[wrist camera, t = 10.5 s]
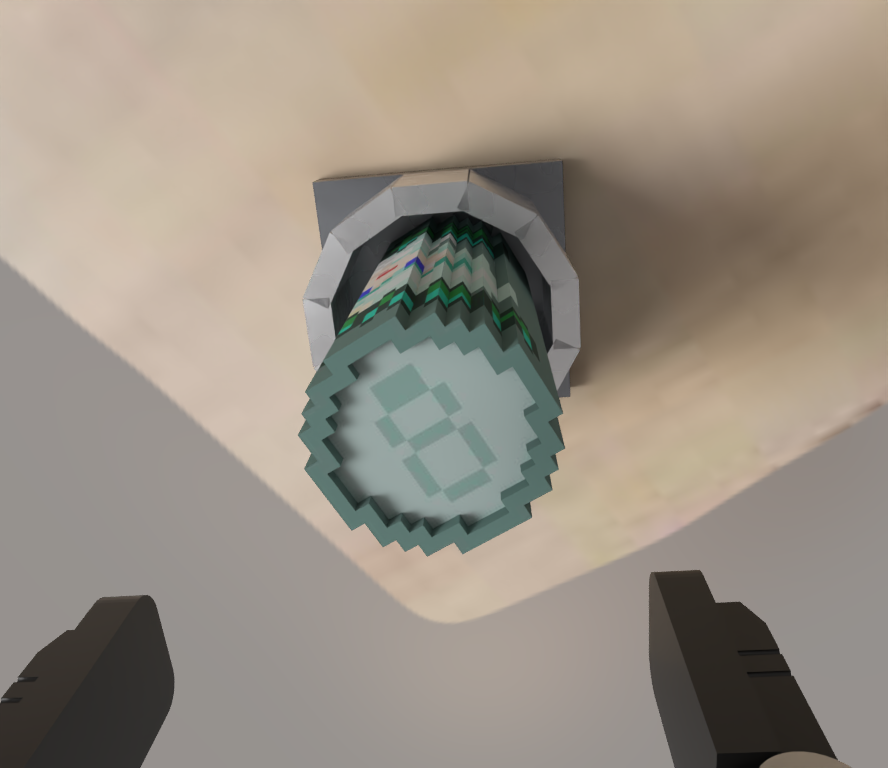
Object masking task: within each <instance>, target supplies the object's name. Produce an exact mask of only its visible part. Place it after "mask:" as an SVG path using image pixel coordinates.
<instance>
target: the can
mask: <svg viewBox="0 0 888 768" xmlns="http://www.w3.org/2000/svg"><path fill="white" fill-rule="evenodd" d="M305 393H306V394H307V395H308V397H309V398H310V399H309V401H308V403H307V405H306V406H305V408H304V410H303V412H302V415H303V417H304V418H305V419H306V421H305V423H304V425H303V426H302V428H301V430H300V432H299V434H298V436H299V437H300V439H301V440H302V441H303V443H304V444H305V445H306V447H307V448H308V449H309V451H310V452H311V455H310V458H309V460H308V462H307V464H306V466H305V468H304V469H305V471H306V472H307V473H308V475H309V476H310V477H311V478H312V480H313V481H314V482H315V484H316V485H317V486H318V488H319V489H320V490H321V491H322V493H323V494H324V495H325V497H326V498H327V499H328V501H329V502H330V503H331V504H332V506H333V507H334V508H335V510H336V511H337V512H338V514H339V515H340V516H341V517H342V519H343V520H344V521H345V523H346V524H347V525H348V527H349V528H350V529H351V530H354V529H356V528H357V527H359V526H361V525H363V524H366V526H367V527H368V528H369V530H370V531H371V532H372V533H373V535H374V536H375V537H376V539H377V540H378V541H379V543H380V544H381V545H382V547H384V546H386V545H388V544H390V543H392V542H394V541H395V540H397V542H398V543H399V544H400V546H401V547H402V548H403V550H404V551H405V552H406V551H408V550H410V549H411V548H413V547H415V546H417V545H419V546H420V548H421V549H422V550H423V552H424V553H425V554H426V556H429V555H431V554H433V553H435V552H437V551H439V550H440V549H442V548H444V547H446V546H448V545H450V544H452V543H455V544H456V546H457V547H458V548H459V550H460V551H461V552H462V554H464V553H466V552H468V551H470V550H471V549H473V548H475V547H477V546H479V545H481V544H483V543H485V542H487V541H489V540H490V539H492V538H494V537H496V536H498V535H500V534H502V533H504V532H506V531H508V530H509V529H511V528H513V527H515V526H517V525H519V524H521V523H523V522H525V521H527V520H528V519H530V518H532V513H531V505H530V502H531V501H533V500H535V499H536V498H538V497H540V496H542V495H544V494H546V493H548V492H550V491H551V490H552V485H551V480H550V474H551V473H553V472H555V471H557V470H559V469H558V464H557V459H556V455H555V454H556V453H558V452H559V451H561V450H563V449H565V446H564V442H563V438H562V434H561V430H560V426H559V422H558V418H557V417H558V416H559V415H561V414H563V412H562V408H561V404H560V400H559V396H558V393H557V389H556V385H555V381H554V378H553V374H552V370H551V366H550V362H549V359H548V355H547V351H546V347H545V344H544V340H543V336H542V332H541V329H540V325H539V321H538V317H537V313H536V310H535V306H534V302H533V298H532V295H531V291H530V287H529V283H528V279H527V276H526V273H525V271H524V270H523V268H522V266H521V265H520V263H519V262H518V260H517V258H516V257H515V255H514V253H513V252H512V250H511V248H510V247H509V245H508V244H507V242H506V240H505V239H504V237H503V235H502V234H501V232H500V233H499V234H497V235H496V236H494V237H491V235H490V233H489V232H488V230H487V229H486V227H485V225H484V224H483V222H482V221H480V222H479V223H477V224H476V225H474V226H473V225H472V223H471V222H470V220H469V219H468V218H466V219H465V220H463V221H462V222H460V223H459V221H458V220H457V218H456V217H455V215H452V216H451V217H449V218H448V219H446V220H445V221H443V222H442V223H440V224H438V225H437V224H436V222H435V221H434V219H433V218H432V217H431V218H429V219H428V220H426V221H424V222H423V223H421V224H420V225H418V226H417V227H415V228H414V229H412V230H411V231H409V232H407V233H406V234H404V235H403V236H401V237H400V238H398V239H397V240H395V241H394V242H392V243H391V244H390V245H389V247H388V249H387V251H386V252H385V254H384V256H383V258H382V259H381V261H380V263H379V264H378V266H377V268H376V270H375V271H374V273H373V275H372V277H371V278H370V280H369V282H368V284H367V285H366V287H365V289H364V290H363V292H362V294H361V296H360V297H359V299H358V301H357V303H356V304H355V306H354V308H353V309H352V311H351V313H350V315H349V316H348V318H347V320H346V322H345V323H344V325H343V327H342V329H341V330H340V332H339V334H338V335H337V337H336V339H335V341H334V342H333V344H332V346H331V348H330V349H329V351H328V353H327V355H326V356H325V358H324V360H323V362H322V363H321V365H320V367H319V369H318V370H317V372H316V374H315V376H314V377H313V379H312V381H311V383H310V384H309V386H308V388H307V389H306V391H305Z"/></svg>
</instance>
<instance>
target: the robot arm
mask: <svg viewBox="0 0 888 768" xmlns="http://www.w3.org/2000/svg"><path fill="white" fill-rule="evenodd" d="M649 661H650V670H651V678H652V685H653V690H654V694H655V698H656V702H657V706H658V709H659V713H660V717H661V720H662V724H663V727H664V731H665V734H666V738H667V742H668V745H669V748H670V752H671V756H672V759H673V763H674V767H675V768H851V767H850V766H848V765H846V764H844V763H842V762H840V761H838V759H837V758H836V756H835V754H834V752H833V751H832V749H831V747H830V745H829V743H828V741H827V739H826V737H825V735H824V733H823V731H822V730H821V728H820V726H819V724H818V722H817V720H816V718H815V716H814V714H813V713H812V710H811V708H810V707H809V705H808V703H807V701H806V699H805V697H804V695H803V693H802V691H801V690H800V688H799V686H798V684H797V682H796V680H795V678H794V676H791V671H790V669H789V667H788V665H787V663H786V661H785V659H784V657H783V655H782V654H780V652H779V648H778V646H777V644H776V642H775V640H774V638H773V636H772V634H771V632H770V631H769V629H768V627H767V625H766V623H765V622H764V621H762V620H761V619H760V618H759V617H758V616H756V615H755V614H754V613H753V612H752V611H750V610H749V609H748V608H747V607H746V606H744V605H743V604H742V603H741V602H727V603H715V600H714V598H713V596H712V594H711V592H710V589H709V587H708V585H707V583H706V581H705V578H704V576H703V574H702V572H701V571H700V570H691V571H670V572H651V574H650V579H649ZM173 694H174V673H173V668H172V664H171V660H170V656H169V652H168V648H167V645H166V641H165V637H164V633H163V629H162V626H161V622H160V618H159V614H158V611H157V607H156V604H155V602H154V600H153V599H152V598H151V597H150V596H148V595H140V596H120V597H102V598H100V599H99V600H97V601H96V603H95V604H94V605H93V607H92V608H91V609H90V610H89V612H88V613H87V614H86V615H85V617H84V618H83V619H82V621H81V622H80V623H79V625H78V626H77V627H76V629H75V630H67V631H66V632H64V633H63V634H62V635H60V636H59V637H58V638H56V639H55V640H54V641H52V642H51V643H50V644H48V645H47V646H46V647H44V648H43V649H42V650H41V651H39V652H38V653H37V654H36V655H35V657H34V658H33V659H32V660H31V662H30V663H29V664H28V665H27V667H26V668H25V669H24V670H23V672H22V673H21V674H20V675H19V677H18V682H15V683H13V684H12V685H11V687H10V688H9V689H8V690H7V692H6V693H5V694H4V695H3V697H2V698H1V703H0V768H140V767H141V765H142V763H143V761H144V759H145V757H146V755H147V753H148V751H149V749H150V748H151V746H152V744H153V742H154V740H155V738H156V736H157V734H158V732H159V730H160V728H161V726H162V724H163V722H164V720H165V718H166V716H167V714H168V712H169V709H170V707H171V704H172V699H173Z"/></svg>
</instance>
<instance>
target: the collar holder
mask: <svg viewBox="0 0 888 768" xmlns="http://www.w3.org/2000/svg"><path fill="white" fill-rule="evenodd" d="M313 189H314V196H315V203H316V210H317V217H318V224H319V231H320V238H321V245H322V252H321V255H320V257H319V260H318V262H317V265H316V267H315V269H314V272H313V274H312V277H311V279H310V282H309V284H308V286H307V289H306V291H305V294H304V296H303V298H304V299H303V304H304V311H305V317H306V324H307V330H308V337H309V343H310V350H311V356H312V363H313V367H314V369H315V370H316V372H317V370H318V369H319V367H320V365H321V363H322V362H323V360H324V358H325V356H326V355H327V353H328V351H329V349H330V348H331V346H332V344H333V342H334V341H335V339H336V337H337V335H338V334H339V332H340V330H341V329H342V327H343V325H344V323H345V322H346V320H347V318H348V316H349V315H350V313H351V311H352V309H353V308H354V306H355V304H356V303H357V301H358V299H359V297H360V296H361V294H362V292H363V290H364V289H365V287H366V285H367V284H368V282H369V280H370V278H371V277H372V275H373V273H374V271H375V270H376V268H377V266H378V264H379V263H380V261H381V259H382V258H383V256H384V254H385V252H386V251H387V249H388V247H389V245H390V244H391V243H392V242H394V241H395V240H397V239H398V238H400V237H401V236H403V235H404V234H406V233H407V232H409V231H411V230H412V229H414V228H415V227H417V226H418V225H420V224H421V223H423V222H424V221H426V220H428V219H429V218H431V217H432V218H433V219H434V221H435V222H436V224H437V225H438V224H440V223H442V222H443V221H445V220H446V219H448V218H449V217H451V216H452V215H455V217H456V218H457V220H458V221H459V223H460V222H462V221H463V220H465V219H466V218H468V219H469V220H470V222H471V223H472V225H473V226H474V225H476V224H477V223H479V222H480V221H482V222H483V224H484V225H485V227H486V229H487V230H488V232H489V233H490V235H491V237H494V236H496V235H497V234H499V233H500V232H501V234H502V235H503V237H504V239H505V240H506V242H507V244H508V245H509V247H510V248H511V250H512V252H513V253H514V255H515V257H516V258H517V260H518V262H519V263H520V265H521V266H522V268H523V270H524V271H525V273H526V276H527V279H528V283H529V287H530V291H531V295H532V298H533V302H534V306H535V310H536V313H537V317H538V321H539V325H540V329H541V332H542V336H543V340H544V344H545V347H546V351H547V355H548V359H549V362H550V366H551V370H552V374H553V378H554V381H555V385H556V389H557V393H558V396H559V397H570V372H569V369H570V367H571V365H572V364H573V362H574V360H575V358H576V356H577V355H578V353H579V351H580V348H581V342H580V307H579V278H578V275H577V274H576V272H575V270H574V268H573V266H572V264H571V262H570V261H569V259H568V257H567V255H566V253H565V223H564V194H563V164H562V160H561V159H552V160H540V161H529V162H517V163H506V164H494V165H483V166H471V167H459V168H448V169H436V170H425V171H413V172H402V173H390V174H379V175H367V176H356V177H344V178H333V179H321V180H316V181H314V182H313Z"/></svg>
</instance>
